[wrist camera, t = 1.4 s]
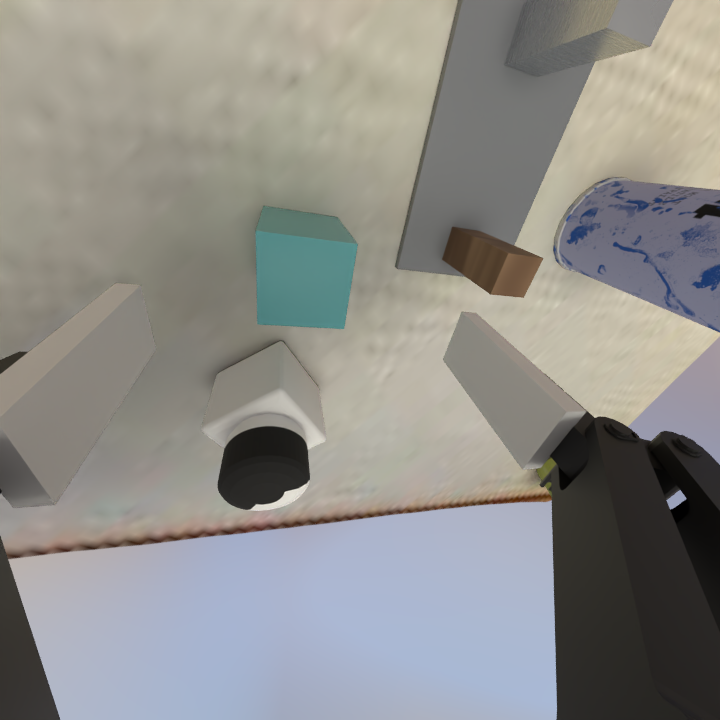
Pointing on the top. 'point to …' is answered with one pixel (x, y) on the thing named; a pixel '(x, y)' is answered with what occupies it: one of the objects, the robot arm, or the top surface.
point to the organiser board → (484, 137)
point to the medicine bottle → (264, 428)
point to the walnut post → (491, 262)
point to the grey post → (581, 32)
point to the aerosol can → (648, 244)
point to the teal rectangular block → (303, 269)
